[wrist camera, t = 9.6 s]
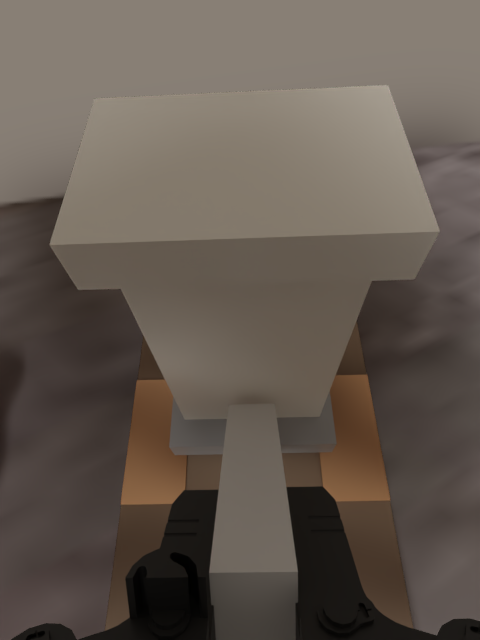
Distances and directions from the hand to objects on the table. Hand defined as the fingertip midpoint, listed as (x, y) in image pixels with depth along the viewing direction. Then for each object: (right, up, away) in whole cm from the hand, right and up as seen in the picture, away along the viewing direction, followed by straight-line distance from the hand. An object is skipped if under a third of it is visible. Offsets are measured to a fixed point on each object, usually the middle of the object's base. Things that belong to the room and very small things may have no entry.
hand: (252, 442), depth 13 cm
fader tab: (0, +1, +4) cm, 4 cm away
